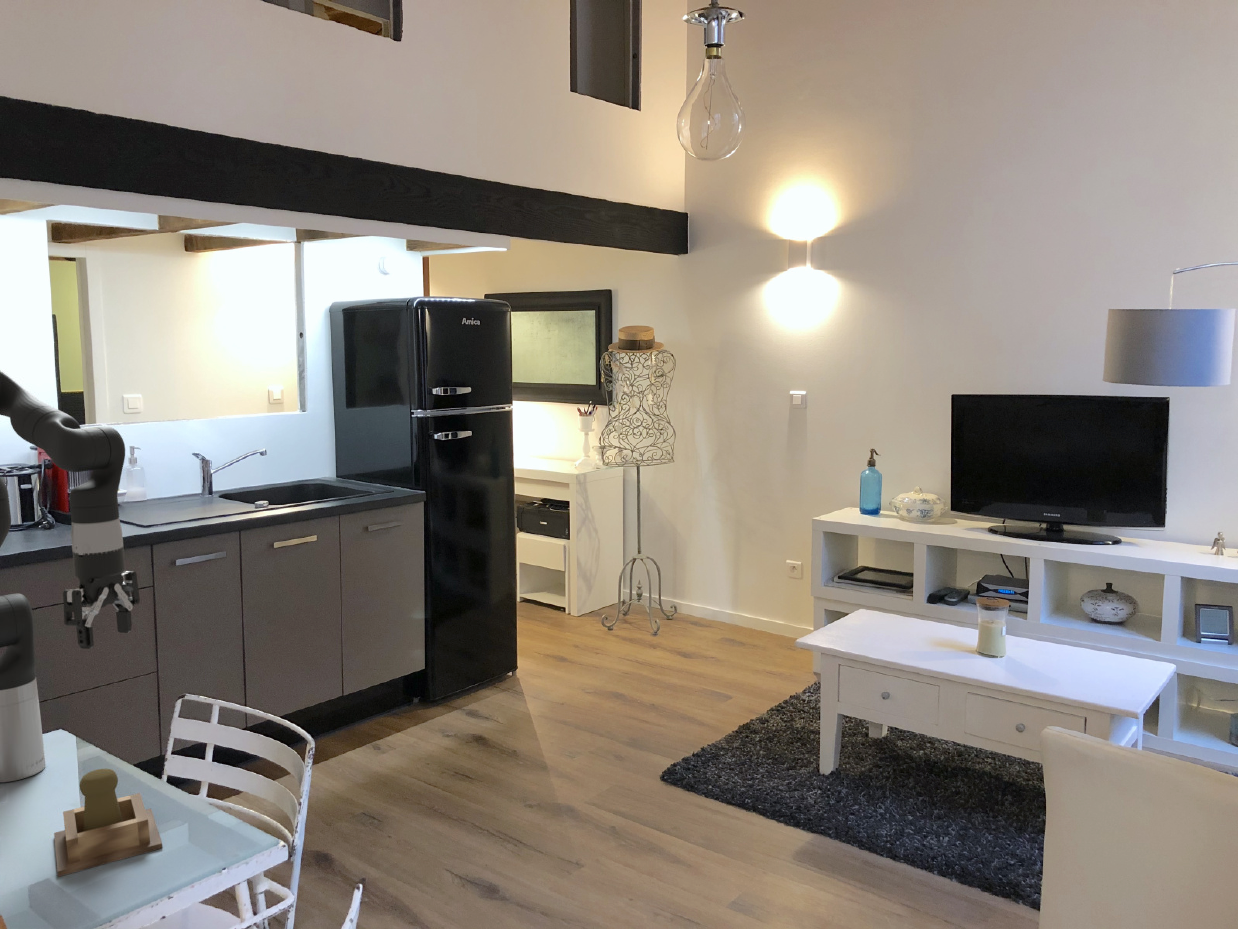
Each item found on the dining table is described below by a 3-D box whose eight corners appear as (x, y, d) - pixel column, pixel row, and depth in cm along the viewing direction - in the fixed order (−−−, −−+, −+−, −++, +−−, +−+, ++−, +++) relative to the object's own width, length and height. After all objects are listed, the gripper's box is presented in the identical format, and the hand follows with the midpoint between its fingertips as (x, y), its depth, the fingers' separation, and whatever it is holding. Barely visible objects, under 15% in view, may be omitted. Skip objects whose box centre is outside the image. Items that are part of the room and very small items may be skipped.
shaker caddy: (58, 877, 140) (54, 848, 140) (54, 837, 152) (51, 810, 152) (162, 848, 148) (159, 820, 147) (151, 812, 160) (149, 787, 159)
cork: (82, 853, 145) (75, 784, 144) (82, 836, 151) (75, 769, 149) (126, 842, 148) (120, 775, 147) (125, 826, 153) (119, 760, 152)
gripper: (110, 536, 168) (118, 626, 170) (44, 555, 154) (54, 652, 156) (147, 538, 166) (154, 628, 168) (84, 557, 152) (92, 655, 154)
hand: (106, 640), depth 162 cm, fingers open, 8 cm apart
